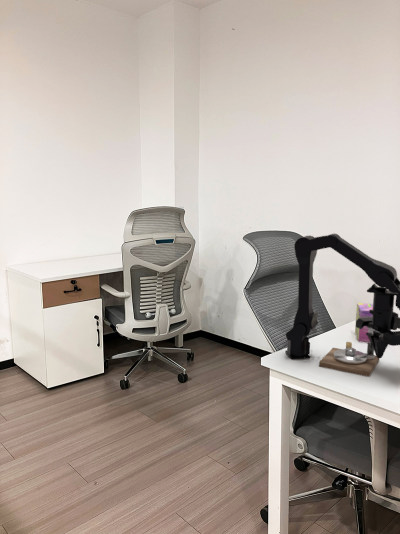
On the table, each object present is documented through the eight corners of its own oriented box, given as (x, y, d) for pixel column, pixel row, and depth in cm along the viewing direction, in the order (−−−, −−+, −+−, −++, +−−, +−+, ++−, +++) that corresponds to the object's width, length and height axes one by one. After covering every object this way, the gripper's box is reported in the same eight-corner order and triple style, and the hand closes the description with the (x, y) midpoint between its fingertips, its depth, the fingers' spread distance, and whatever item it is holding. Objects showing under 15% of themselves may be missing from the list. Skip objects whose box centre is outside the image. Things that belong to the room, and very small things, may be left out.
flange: (340, 364, 143) (341, 349, 142) (329, 352, 153) (330, 338, 152) (379, 363, 144) (381, 349, 143) (366, 352, 154) (367, 338, 153)
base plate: (368, 376, 139) (370, 362, 138) (319, 366, 146) (319, 352, 146) (379, 360, 151) (380, 347, 150) (332, 351, 159) (333, 339, 158)
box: (374, 342, 168) (377, 311, 166) (358, 341, 169) (360, 310, 167) (370, 333, 178) (372, 303, 176) (354, 332, 179) (356, 302, 177)
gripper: (428, 314, 132) (423, 367, 135) (387, 299, 150) (384, 345, 153) (393, 317, 130) (389, 370, 132) (356, 300, 147) (353, 348, 150)
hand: (379, 357), depth 142 cm, fingers closed
